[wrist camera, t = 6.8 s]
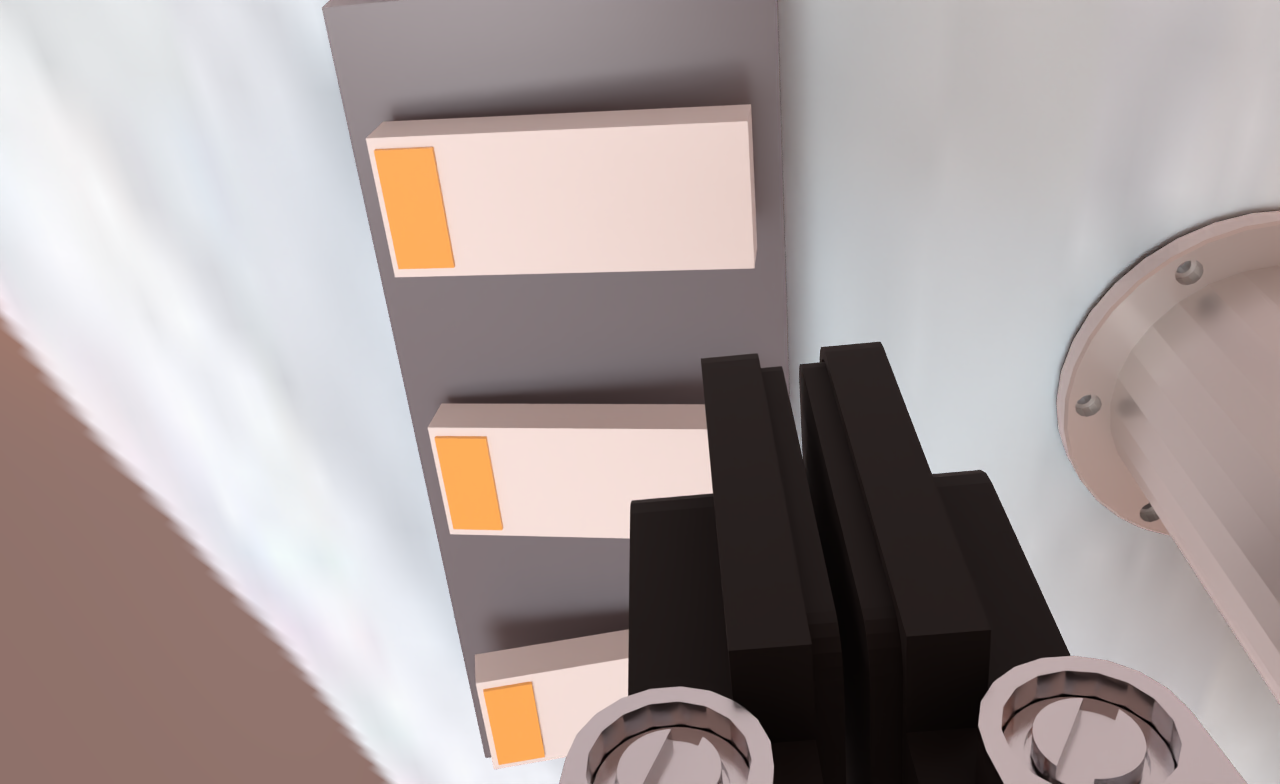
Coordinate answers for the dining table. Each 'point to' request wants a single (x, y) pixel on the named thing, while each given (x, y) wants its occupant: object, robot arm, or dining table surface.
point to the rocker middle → (564, 465)
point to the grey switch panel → (561, 302)
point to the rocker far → (548, 694)
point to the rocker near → (568, 192)
